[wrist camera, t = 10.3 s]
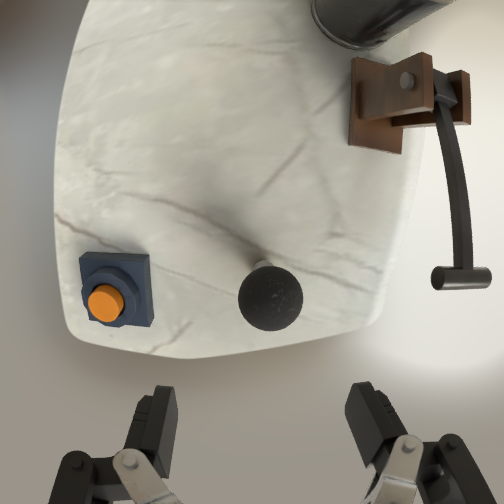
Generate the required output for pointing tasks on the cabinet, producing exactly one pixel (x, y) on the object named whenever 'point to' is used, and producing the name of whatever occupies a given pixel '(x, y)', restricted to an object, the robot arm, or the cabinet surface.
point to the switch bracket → (399, 101)
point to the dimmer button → (106, 303)
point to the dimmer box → (120, 285)
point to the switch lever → (455, 198)
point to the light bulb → (270, 297)
